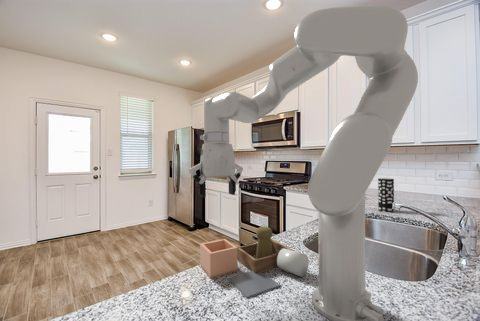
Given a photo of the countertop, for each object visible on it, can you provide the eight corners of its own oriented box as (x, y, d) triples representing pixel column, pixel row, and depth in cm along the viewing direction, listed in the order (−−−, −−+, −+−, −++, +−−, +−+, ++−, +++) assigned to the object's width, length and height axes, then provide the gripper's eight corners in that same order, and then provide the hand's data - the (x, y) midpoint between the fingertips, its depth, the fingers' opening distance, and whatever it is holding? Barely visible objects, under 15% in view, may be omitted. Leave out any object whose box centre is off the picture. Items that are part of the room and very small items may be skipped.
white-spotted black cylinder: (381, 208, 146) (380, 178, 146) (396, 210, 140) (395, 178, 140) (376, 210, 141) (376, 179, 141) (391, 213, 135) (391, 179, 135)
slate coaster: (279, 286, 58) (279, 285, 58) (246, 298, 53) (246, 296, 53) (258, 270, 67) (258, 268, 67) (228, 279, 62) (228, 277, 62)
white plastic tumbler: (308, 272, 66) (308, 251, 66) (299, 280, 61) (298, 258, 61) (287, 264, 70) (287, 245, 70) (277, 272, 66) (276, 251, 66)
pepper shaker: (252, 263, 72) (251, 228, 72) (259, 255, 77) (259, 224, 77) (270, 267, 69) (269, 231, 69) (276, 259, 74) (276, 226, 74)
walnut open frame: (294, 263, 71) (293, 250, 71) (255, 274, 64) (255, 260, 64) (271, 250, 82) (271, 239, 82) (236, 259, 75) (236, 247, 75)
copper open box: (237, 271, 67) (237, 247, 67) (210, 278, 63) (210, 253, 63) (225, 260, 74) (225, 238, 74) (200, 266, 70) (200, 243, 70)
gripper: (192, 137, 61) (193, 200, 61) (247, 139, 69) (248, 194, 69) (185, 139, 68) (186, 196, 68) (236, 141, 76) (237, 191, 76)
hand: (217, 195), depth 68 cm, fingers open, 9 cm apart
